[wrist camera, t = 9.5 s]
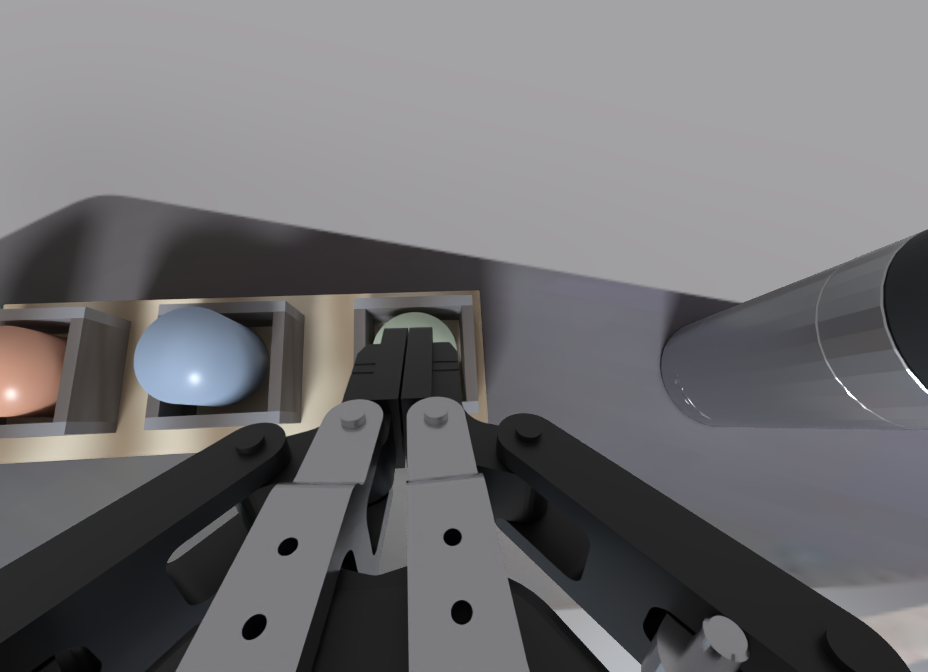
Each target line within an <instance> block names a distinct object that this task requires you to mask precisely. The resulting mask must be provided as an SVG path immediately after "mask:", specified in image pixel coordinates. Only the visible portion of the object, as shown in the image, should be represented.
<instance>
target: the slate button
mask: <svg viewBox="0 0 928 672" xmlns="http://www.w3.org/2000/svg"><path fill="white" fill-rule="evenodd" d="M267 369H268V352H267V349H266V346H265V344H264V342H263V340H262V339H261V338H260V337H259V335H258V334H256V333H255V332H254V331H252V330H251V329H249V328H247V327H245V326H243V325H241V324H239V323H237V322H235V321H233V320H231V319H229V318H227V317H225V316H223V315H221V314H219V313H217V312H215V311H212V310H210V309H207V308H202V307H183V308H178V309H175V310H172V311H170V312H168V313H166V314H164V315H162V316H160V317H159V318H158V319H156V320H155V321H154V322H153V323H152V324H150V325H149V326H148V328H147V329H146V330H145V331H144V333H143V334H142V336H141V337H140V339H139V341H138V343H137V346H136V349H135V354H134V370H135V374H136V377H137V380H138V382H139V383H140V385H141V386H142V388H143V389H144V390H145V391H146V392H147V393H148V394H149V395H151V396H152V397H154V398H156V399H158V400H160V401H163V402H167V403H173V404H185V405H200V406H214V407H224V406H230V405H234V404H237V403H239V402H241V401H243V400H245V399H246V398H248V397H249V396H251V395H252V394H253V393H254V392H255V391H256V390H257V389H258V388H259V386H260V385H261V383H262V382H263V380H264V378H265V375H266V373H267Z"/></svg>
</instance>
